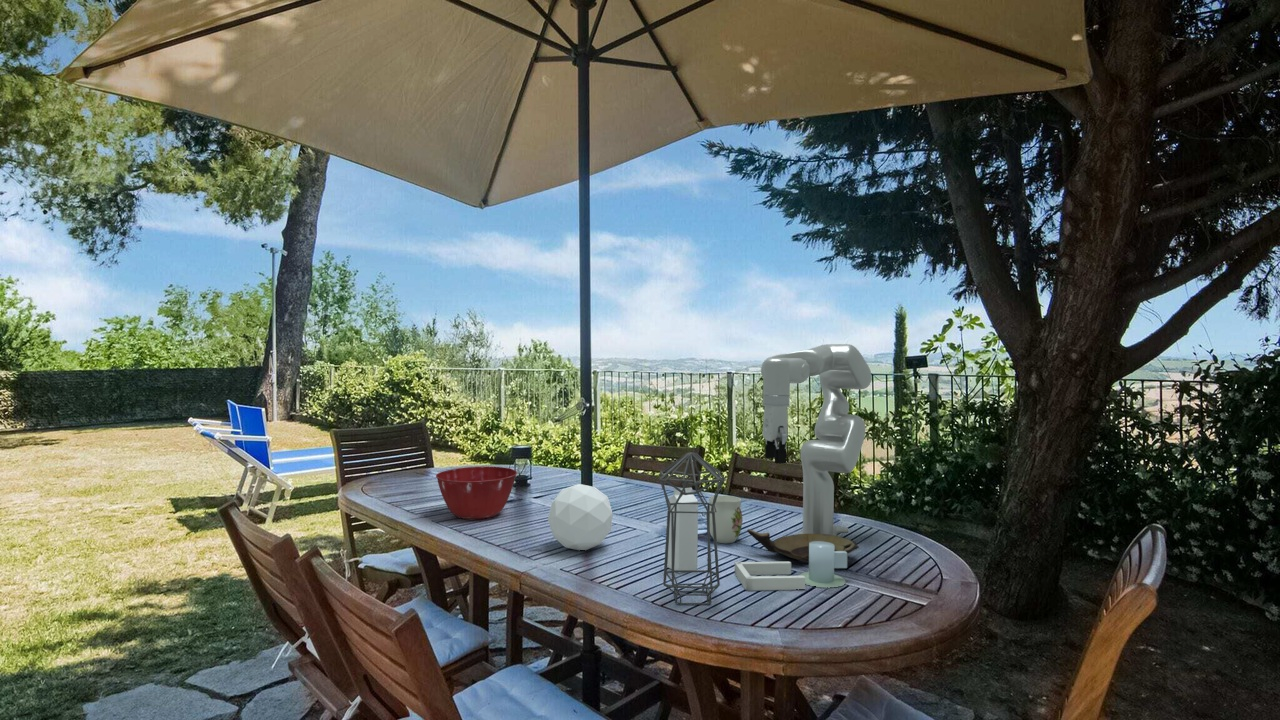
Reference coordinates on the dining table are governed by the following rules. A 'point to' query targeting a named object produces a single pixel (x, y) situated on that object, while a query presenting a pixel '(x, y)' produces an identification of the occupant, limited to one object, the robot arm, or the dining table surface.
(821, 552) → the jug
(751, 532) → the oil lamp
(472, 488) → the mixing bowl
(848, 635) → the dining table surface
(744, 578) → the holder
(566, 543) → the ball
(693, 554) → the milk
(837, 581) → the mat
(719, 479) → the geometric lantern
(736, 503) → the pitcher
